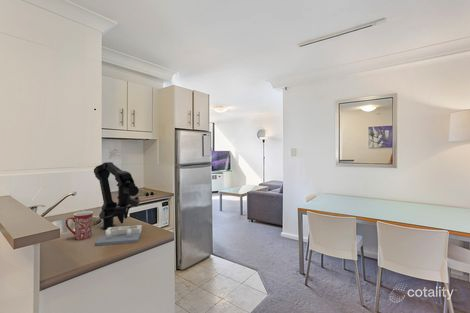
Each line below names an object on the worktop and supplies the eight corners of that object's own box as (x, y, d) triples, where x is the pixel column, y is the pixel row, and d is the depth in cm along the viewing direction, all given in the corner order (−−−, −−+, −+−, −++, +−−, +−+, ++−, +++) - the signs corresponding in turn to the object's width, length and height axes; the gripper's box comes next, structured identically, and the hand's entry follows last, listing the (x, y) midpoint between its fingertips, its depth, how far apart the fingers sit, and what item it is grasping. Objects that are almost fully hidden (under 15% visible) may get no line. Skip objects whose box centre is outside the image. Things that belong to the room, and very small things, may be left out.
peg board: (101, 238, 122) (101, 228, 122) (140, 235, 127) (140, 225, 127) (94, 246, 112) (94, 235, 112) (137, 242, 117) (137, 231, 117)
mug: (94, 233, 130) (94, 210, 130) (91, 239, 121) (91, 214, 121) (68, 236, 125) (68, 212, 125) (63, 242, 117) (62, 216, 116)
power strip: (108, 232, 131) (108, 227, 131) (141, 230, 136) (141, 225, 136) (105, 236, 125) (105, 231, 125) (139, 233, 129) (139, 228, 129)
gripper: (135, 196, 123) (135, 224, 123) (141, 190, 141) (141, 215, 141) (113, 197, 120) (113, 226, 121) (122, 191, 138) (122, 216, 139)
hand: (124, 220), depth 130 cm, fingers open, 9 cm apart
